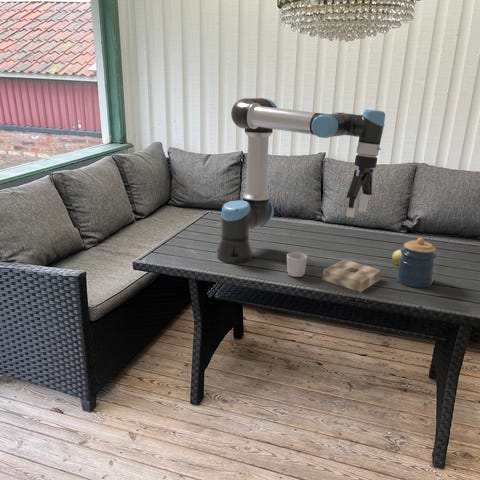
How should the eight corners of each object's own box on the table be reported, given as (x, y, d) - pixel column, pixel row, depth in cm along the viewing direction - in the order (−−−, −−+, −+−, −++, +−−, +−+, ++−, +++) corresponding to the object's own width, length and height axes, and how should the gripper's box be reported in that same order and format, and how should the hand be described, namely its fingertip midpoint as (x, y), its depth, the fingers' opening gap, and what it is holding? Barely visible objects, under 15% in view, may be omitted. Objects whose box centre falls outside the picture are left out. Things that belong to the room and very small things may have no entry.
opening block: (322, 279, 173) (323, 269, 172) (343, 268, 185) (344, 259, 184) (360, 292, 163) (361, 282, 162) (380, 279, 175) (381, 270, 174)
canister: (439, 286, 170) (447, 242, 165) (410, 290, 167) (417, 244, 161) (417, 273, 182) (424, 231, 176) (389, 276, 178) (395, 233, 173)
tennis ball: (404, 252, 186) (411, 248, 190) (388, 250, 190) (395, 247, 195) (404, 267, 187) (411, 263, 192) (388, 265, 192) (395, 261, 196)
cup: (296, 267, 185) (297, 248, 182) (313, 272, 180) (315, 253, 177) (281, 274, 177) (282, 255, 174) (299, 280, 172) (300, 260, 169)
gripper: (366, 158, 148) (354, 221, 154) (387, 156, 168) (376, 211, 174) (344, 155, 152) (333, 216, 158) (367, 153, 172) (357, 207, 178)
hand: (356, 214), depth 166 cm, fingers open, 13 cm apart
